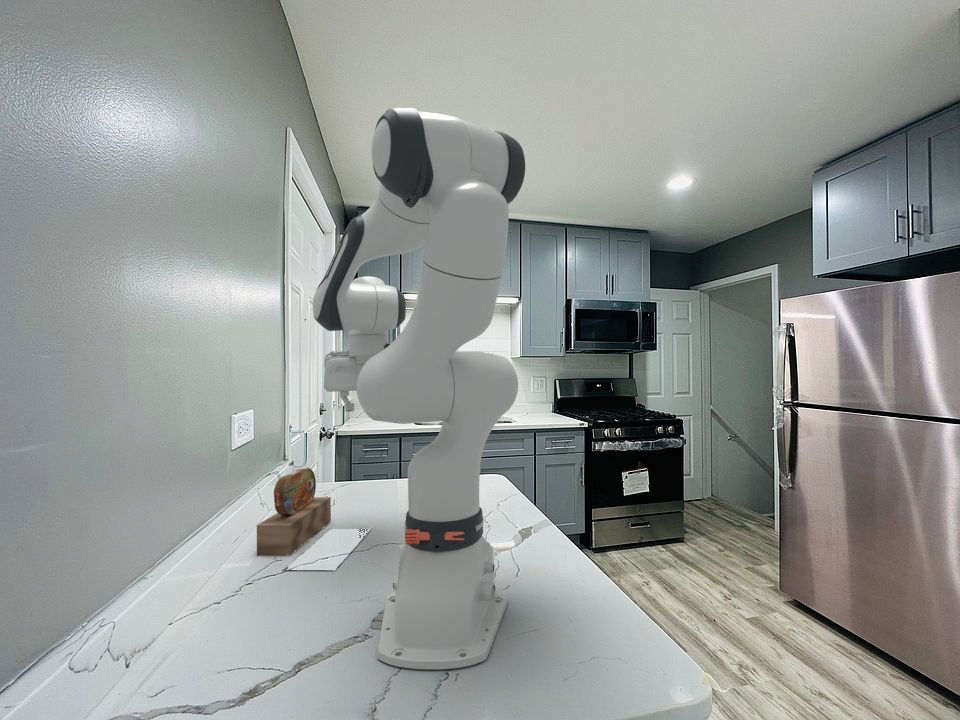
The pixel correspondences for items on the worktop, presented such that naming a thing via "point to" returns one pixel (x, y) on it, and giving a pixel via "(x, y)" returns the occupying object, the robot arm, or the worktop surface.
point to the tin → (294, 491)
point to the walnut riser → (292, 528)
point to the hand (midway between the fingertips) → (370, 410)
